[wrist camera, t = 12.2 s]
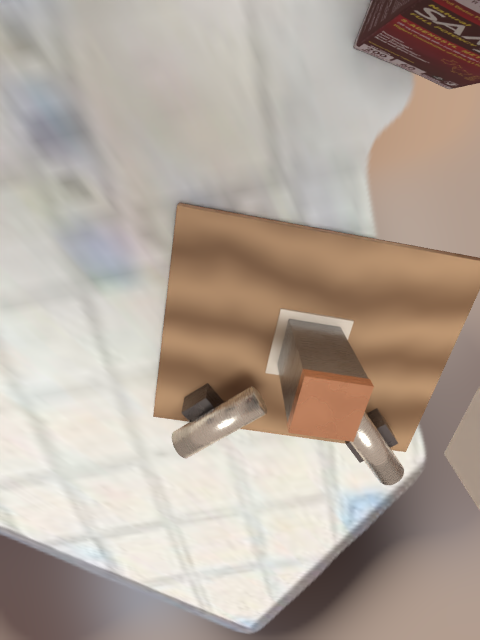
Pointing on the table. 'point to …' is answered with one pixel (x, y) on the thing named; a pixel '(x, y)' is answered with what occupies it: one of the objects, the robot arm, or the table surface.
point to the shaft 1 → (214, 418)
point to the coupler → (322, 382)
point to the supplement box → (426, 38)
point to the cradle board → (306, 312)
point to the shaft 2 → (377, 448)
